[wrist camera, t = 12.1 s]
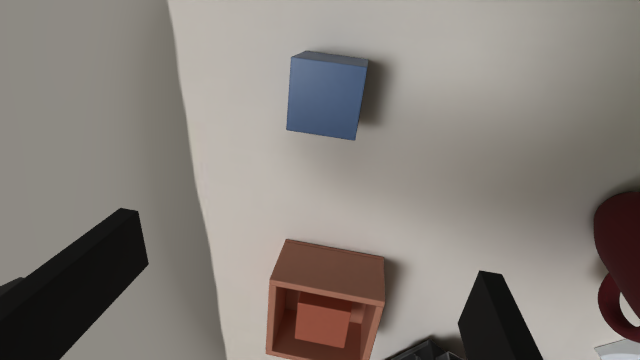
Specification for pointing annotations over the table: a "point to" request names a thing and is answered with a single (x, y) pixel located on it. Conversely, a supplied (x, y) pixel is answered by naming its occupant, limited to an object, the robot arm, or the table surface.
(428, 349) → the camera
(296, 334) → the terracotta block
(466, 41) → the table surface
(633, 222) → the mug
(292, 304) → the clay bin
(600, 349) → the headphone stand
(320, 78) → the blue block
